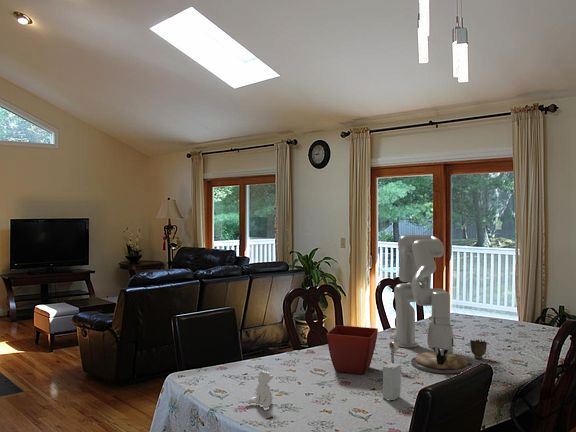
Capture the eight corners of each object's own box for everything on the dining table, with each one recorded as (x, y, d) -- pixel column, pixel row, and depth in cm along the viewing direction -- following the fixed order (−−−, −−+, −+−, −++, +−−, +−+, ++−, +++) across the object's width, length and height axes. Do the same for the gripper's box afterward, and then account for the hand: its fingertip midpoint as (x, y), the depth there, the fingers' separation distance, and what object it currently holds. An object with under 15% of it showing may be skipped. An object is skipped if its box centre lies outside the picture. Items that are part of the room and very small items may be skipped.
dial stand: (384, 368, 228) (384, 340, 228) (390, 365, 232) (390, 338, 232) (396, 371, 224) (396, 343, 224) (402, 368, 228) (402, 341, 228)
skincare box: (390, 394, 195) (390, 362, 195) (401, 397, 192) (401, 364, 192) (382, 399, 190) (381, 366, 190) (393, 402, 187) (393, 368, 187)
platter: (428, 370, 219) (428, 357, 219) (408, 356, 241) (408, 344, 241) (477, 368, 222) (477, 355, 222) (452, 354, 245) (452, 342, 245)
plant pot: (378, 365, 232) (378, 327, 232) (370, 378, 214) (370, 337, 214) (336, 361, 238) (336, 324, 238) (325, 373, 220) (325, 333, 220)
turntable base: (400, 366, 231) (400, 363, 231) (427, 354, 250) (427, 351, 250) (456, 378, 214) (456, 375, 214) (481, 364, 233) (481, 361, 233)
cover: (439, 360, 228) (439, 351, 228) (433, 356, 235) (433, 347, 235) (454, 360, 229) (454, 350, 229) (448, 355, 236) (448, 346, 236)
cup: (488, 361, 239) (488, 343, 239) (471, 360, 240) (471, 342, 240) (485, 356, 246) (485, 339, 246) (469, 355, 248) (469, 339, 248)
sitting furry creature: (244, 406, 183) (244, 372, 183) (258, 398, 191) (258, 366, 191) (266, 411, 178) (266, 376, 178) (279, 403, 186) (279, 370, 186)
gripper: (420, 319, 223) (420, 362, 223) (454, 324, 213) (454, 369, 213) (428, 317, 229) (428, 358, 229) (461, 321, 219) (461, 365, 219)
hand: (440, 363), depth 221 cm, fingers closed
